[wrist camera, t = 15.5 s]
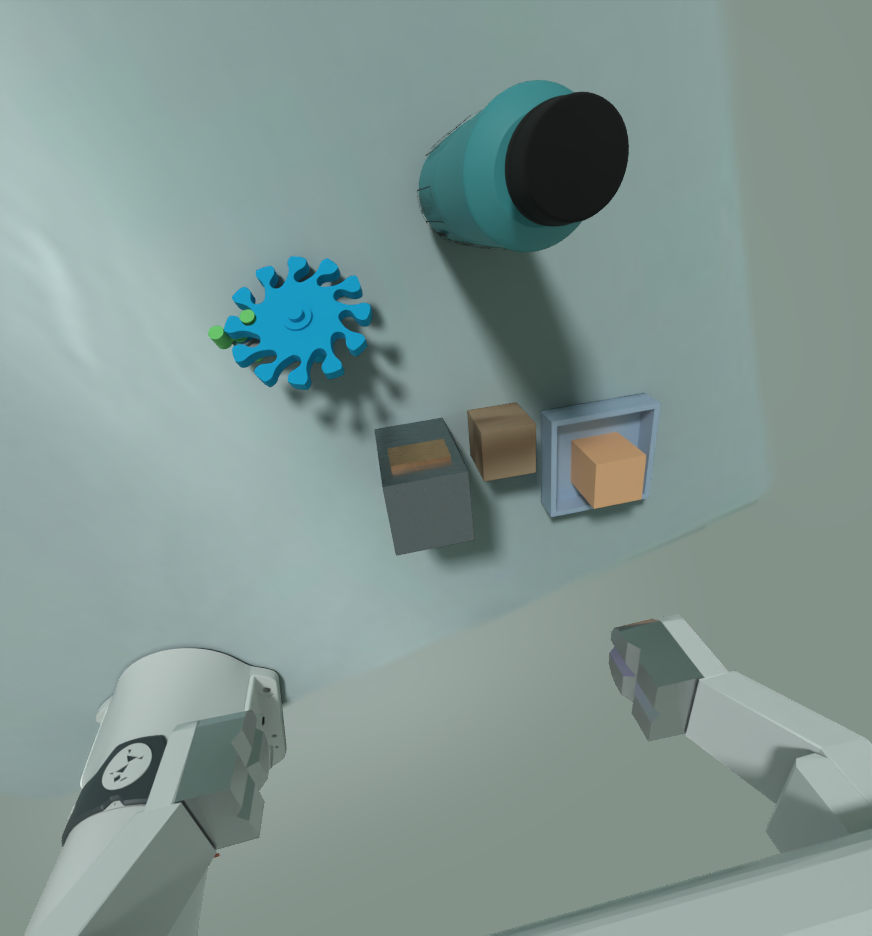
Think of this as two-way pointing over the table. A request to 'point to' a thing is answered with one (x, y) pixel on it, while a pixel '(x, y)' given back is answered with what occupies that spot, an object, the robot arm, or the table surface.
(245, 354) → the gear
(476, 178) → the beverage bottle
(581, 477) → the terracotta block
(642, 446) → the tray
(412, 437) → the box
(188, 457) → the table surface
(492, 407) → the walnut block
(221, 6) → the table surface
